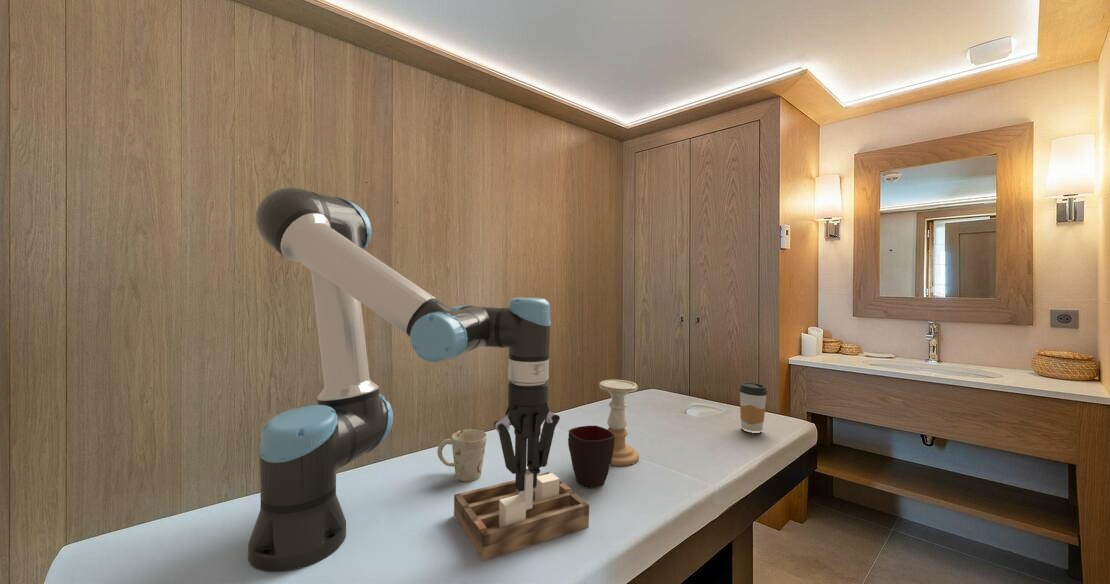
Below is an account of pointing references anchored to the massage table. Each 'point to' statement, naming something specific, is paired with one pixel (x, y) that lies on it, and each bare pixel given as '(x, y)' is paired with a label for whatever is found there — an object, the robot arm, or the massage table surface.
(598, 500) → the massage table surface
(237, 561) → the massage table surface
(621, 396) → the candle holder
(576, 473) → the mug
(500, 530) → the wooden compartment tray
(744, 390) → the coffee cup
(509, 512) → the tab near
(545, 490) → the tab mid
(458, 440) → the mug
